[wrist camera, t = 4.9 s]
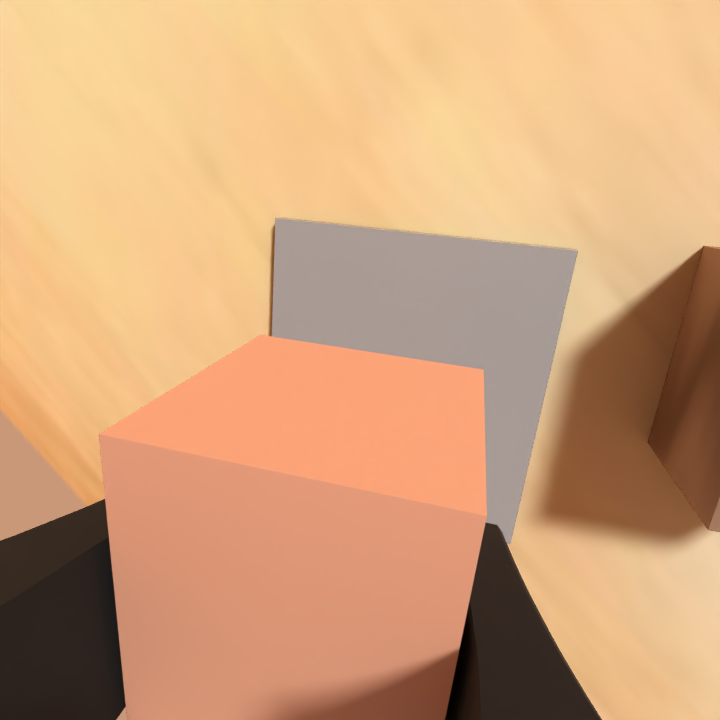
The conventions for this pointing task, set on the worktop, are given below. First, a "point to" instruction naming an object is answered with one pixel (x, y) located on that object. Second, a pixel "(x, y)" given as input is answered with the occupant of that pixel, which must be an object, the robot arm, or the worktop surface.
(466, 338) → the baseplate
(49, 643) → the robot arm
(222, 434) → the terracotta block
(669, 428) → the walnut block
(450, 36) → the worktop surface
